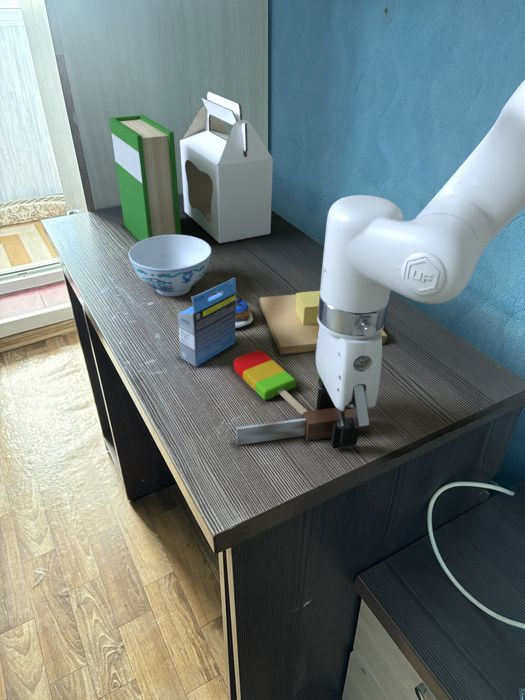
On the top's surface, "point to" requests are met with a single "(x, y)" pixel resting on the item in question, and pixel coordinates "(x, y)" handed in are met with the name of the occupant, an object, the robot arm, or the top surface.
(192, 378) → the top surface
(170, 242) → the chinaware
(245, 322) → the dessert
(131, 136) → the hardback book
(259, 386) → the popsicle
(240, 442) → the knife
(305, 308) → the butter block
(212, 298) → the label tape box
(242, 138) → the gable box
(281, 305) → the cutting board
